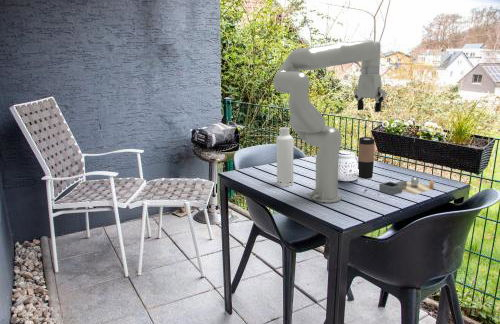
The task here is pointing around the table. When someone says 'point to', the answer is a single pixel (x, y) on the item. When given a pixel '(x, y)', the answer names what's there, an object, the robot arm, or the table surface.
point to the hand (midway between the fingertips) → (368, 110)
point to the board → (417, 190)
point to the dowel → (431, 184)
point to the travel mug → (366, 157)
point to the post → (414, 182)
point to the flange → (392, 187)
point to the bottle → (284, 157)
